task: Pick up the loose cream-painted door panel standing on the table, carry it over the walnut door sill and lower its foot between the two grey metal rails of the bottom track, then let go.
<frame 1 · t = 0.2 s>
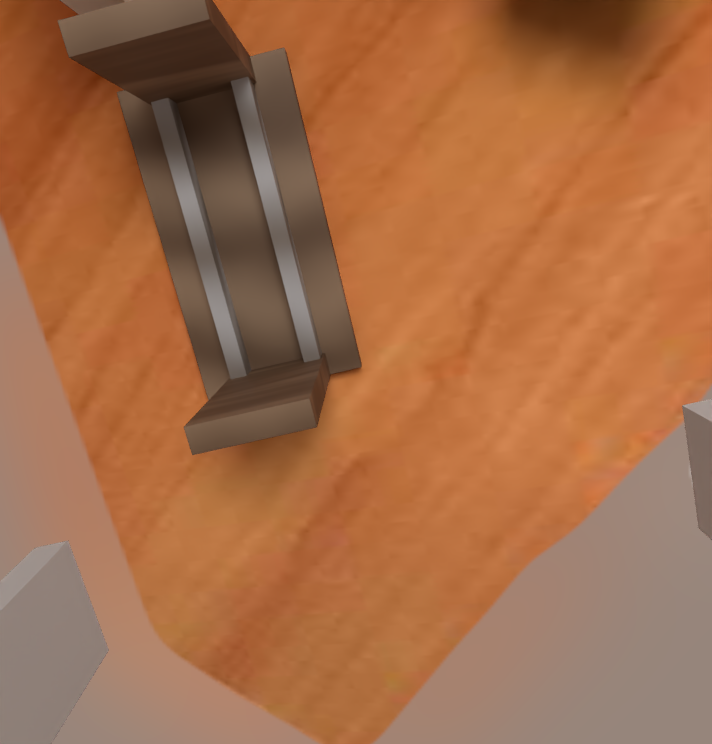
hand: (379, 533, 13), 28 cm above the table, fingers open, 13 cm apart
track: (247, 235, 39), on the table
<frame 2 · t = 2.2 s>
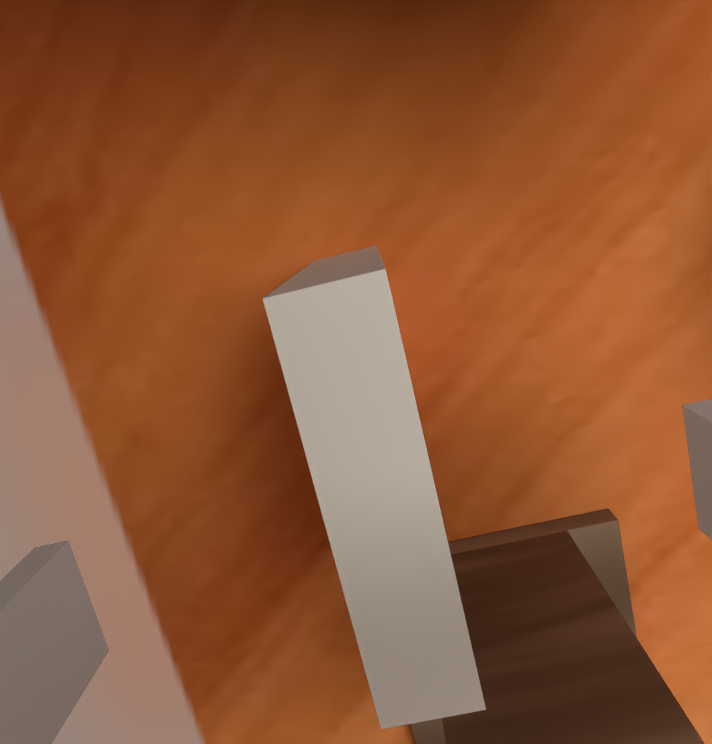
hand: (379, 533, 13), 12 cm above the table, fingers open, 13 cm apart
track: (527, 722, 28), on the table
door panel: (375, 378, 25), on the table
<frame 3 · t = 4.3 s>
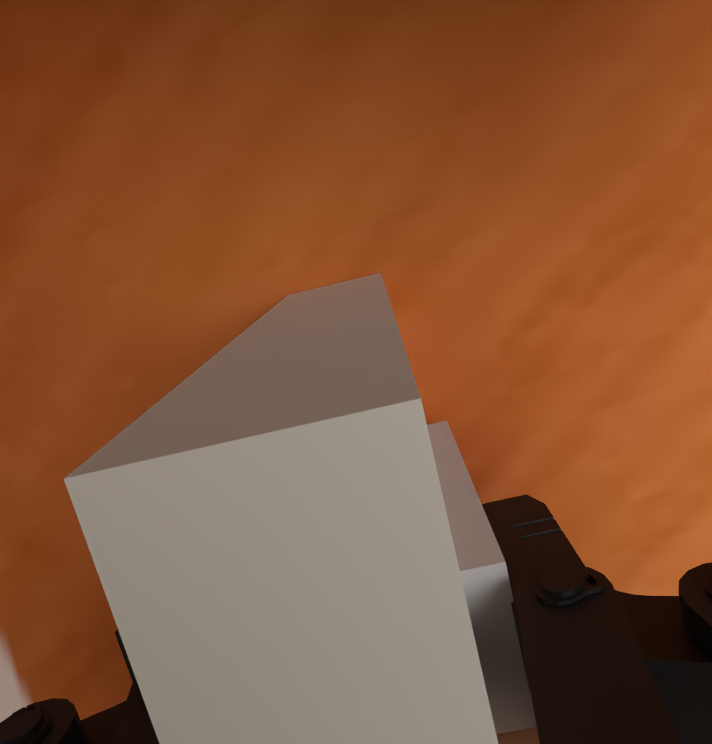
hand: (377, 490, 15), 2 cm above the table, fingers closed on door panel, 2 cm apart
door panel: (378, 466, 17), on the table, touching gripper
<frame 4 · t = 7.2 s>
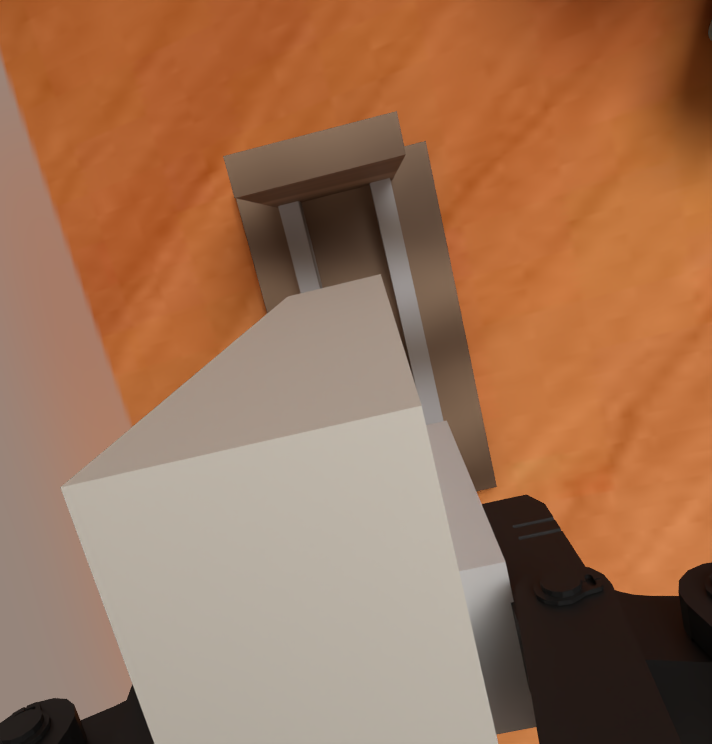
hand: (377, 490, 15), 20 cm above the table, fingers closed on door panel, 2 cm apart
track: (371, 342, 35), on the table
door panel: (379, 468, 17), point 18 cm above the table, touching gripper
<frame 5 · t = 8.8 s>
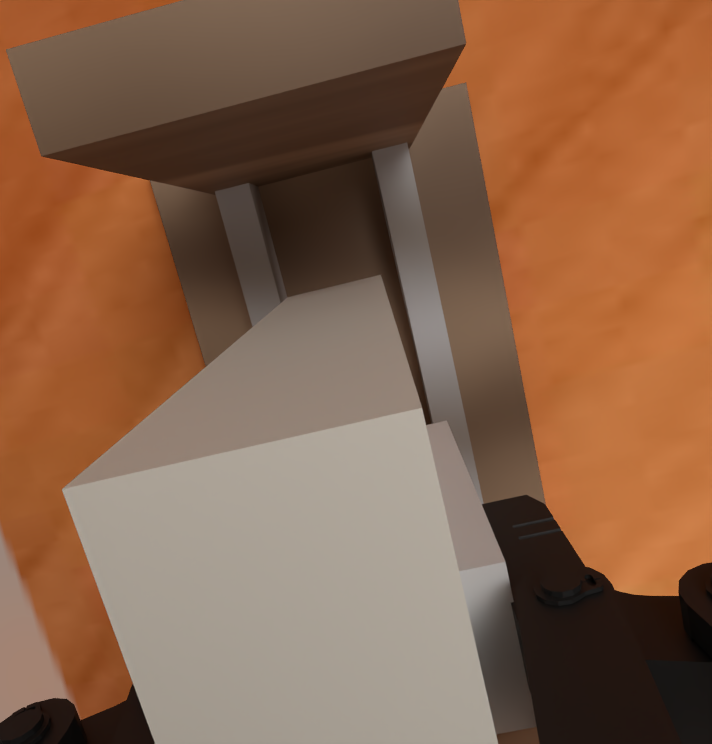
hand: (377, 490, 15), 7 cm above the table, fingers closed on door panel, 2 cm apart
track: (374, 410, 22), on the table
door panel: (379, 469, 17), point 5 cm above the table, touching gripper
when the fingers open (3 cm above the table, at t = 10.0 s): door panel stays where it is, resting on track.
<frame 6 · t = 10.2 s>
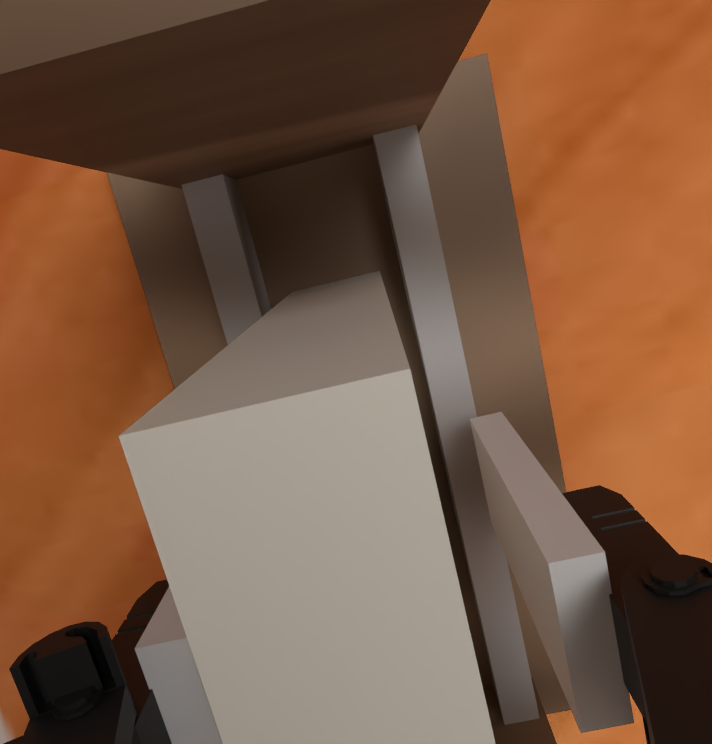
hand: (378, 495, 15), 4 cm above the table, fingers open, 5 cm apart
track: (375, 443, 19), on the table
door panel: (378, 454, 18), point 1 cm above the table, touching track
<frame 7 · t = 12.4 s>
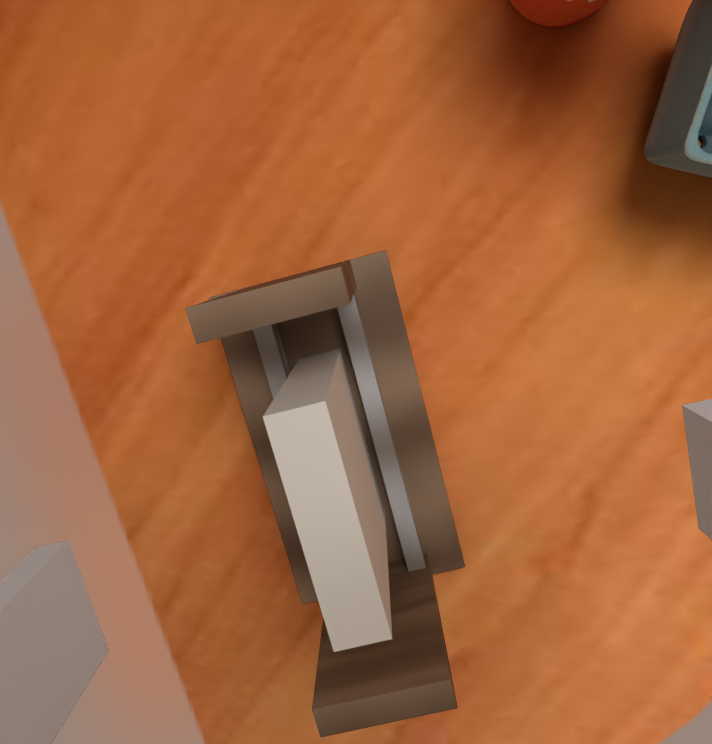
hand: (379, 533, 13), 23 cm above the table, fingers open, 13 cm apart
track: (342, 432, 37), on the table
door panel: (342, 437, 36), point 1 cm above the table, touching track
flower pot: (704, 114, 33), on the table
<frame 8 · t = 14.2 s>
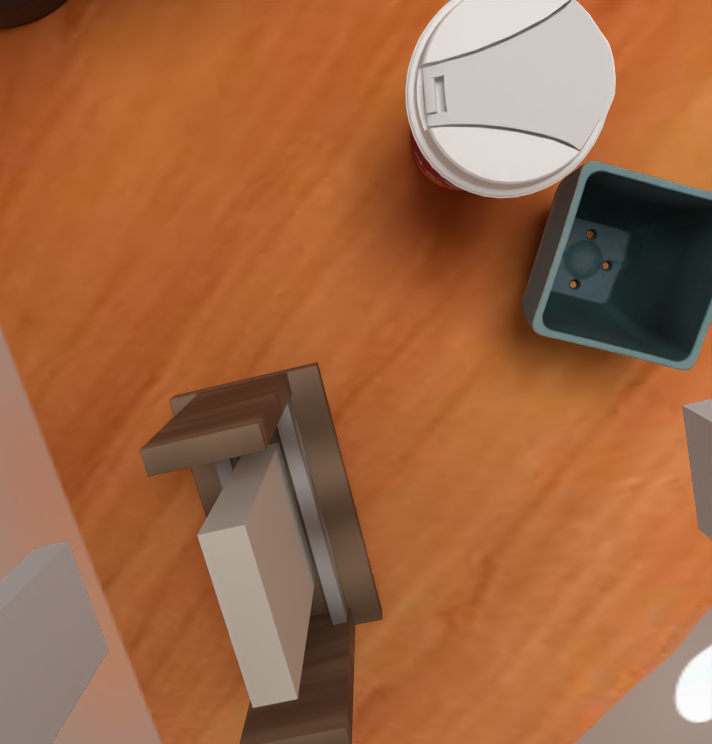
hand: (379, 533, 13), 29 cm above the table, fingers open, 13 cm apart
track: (282, 507, 44), on the table
door panel: (280, 513, 43), point 1 cm above the table, touching track
flower pot: (580, 260, 40), on the table
coffee cup: (460, 139, 39), on the table
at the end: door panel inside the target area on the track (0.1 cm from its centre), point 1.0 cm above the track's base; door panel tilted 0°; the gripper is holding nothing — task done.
